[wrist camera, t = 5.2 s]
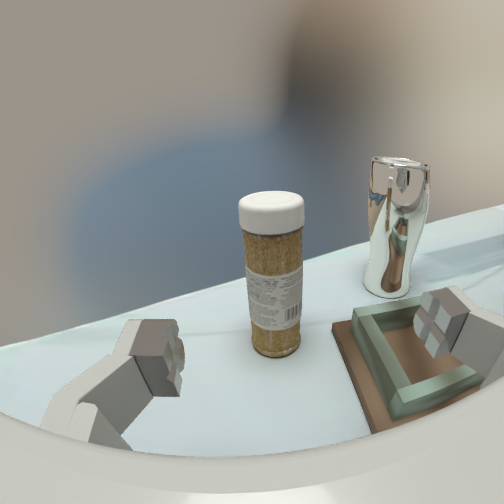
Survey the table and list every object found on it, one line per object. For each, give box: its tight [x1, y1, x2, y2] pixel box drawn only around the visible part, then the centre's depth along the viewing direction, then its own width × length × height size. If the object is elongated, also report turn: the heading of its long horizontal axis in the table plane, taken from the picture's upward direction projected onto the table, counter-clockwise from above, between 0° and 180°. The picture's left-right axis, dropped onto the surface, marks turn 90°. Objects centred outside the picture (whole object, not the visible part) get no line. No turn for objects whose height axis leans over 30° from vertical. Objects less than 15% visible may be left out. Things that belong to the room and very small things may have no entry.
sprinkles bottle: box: [239, 191, 304, 357], centre depth 22 cm, size 5×5×13 cm
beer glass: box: [363, 156, 430, 298], centre depth 28 cm, size 7×7×15 cm
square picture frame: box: [332, 296, 485, 434], centre depth 19 cm, size 13×13×4 cm
